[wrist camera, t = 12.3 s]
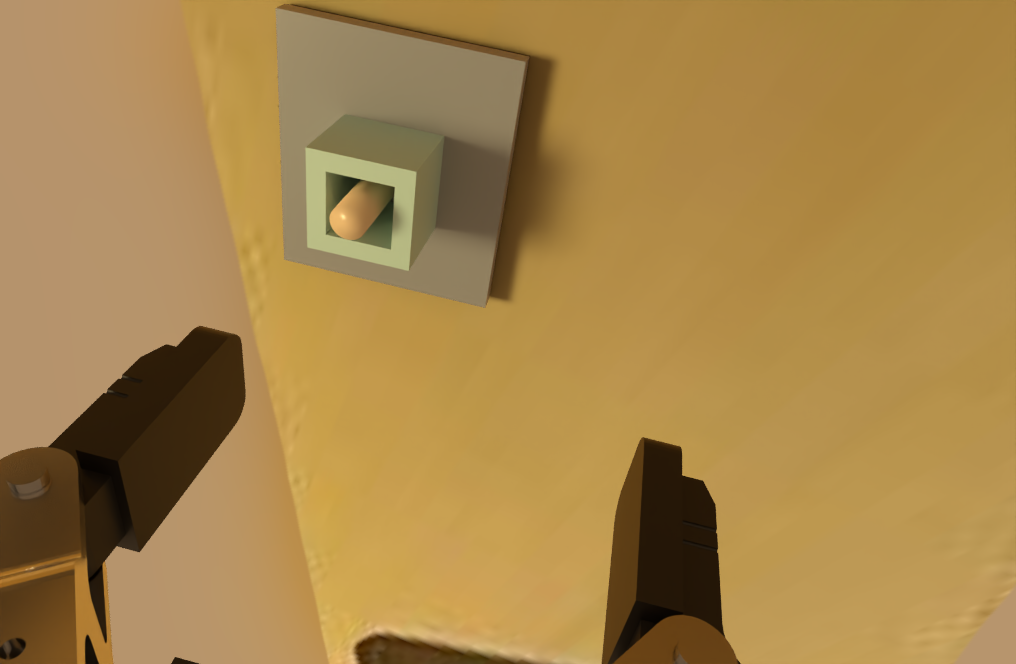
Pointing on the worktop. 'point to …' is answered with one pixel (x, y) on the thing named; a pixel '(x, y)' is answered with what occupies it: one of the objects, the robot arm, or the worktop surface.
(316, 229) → the collar
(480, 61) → the board
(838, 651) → the worktop surface
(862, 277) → the worktop surface
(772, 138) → the worktop surface
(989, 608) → the worktop surface
